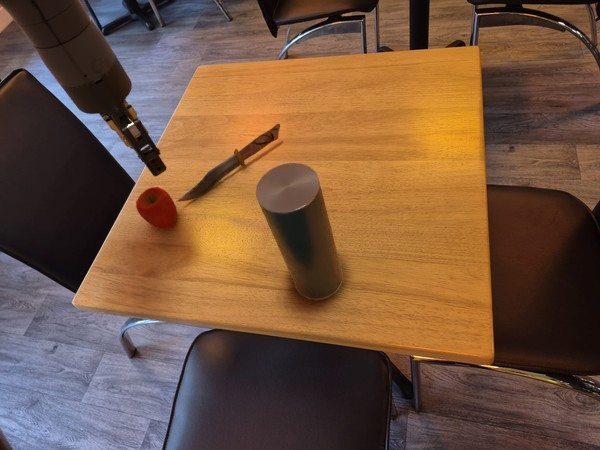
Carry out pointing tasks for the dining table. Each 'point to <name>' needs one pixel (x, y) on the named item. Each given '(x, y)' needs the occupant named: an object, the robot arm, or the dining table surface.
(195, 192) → the knife
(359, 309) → the dining table surface
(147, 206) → the apple
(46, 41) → the robot arm
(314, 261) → the tin can
